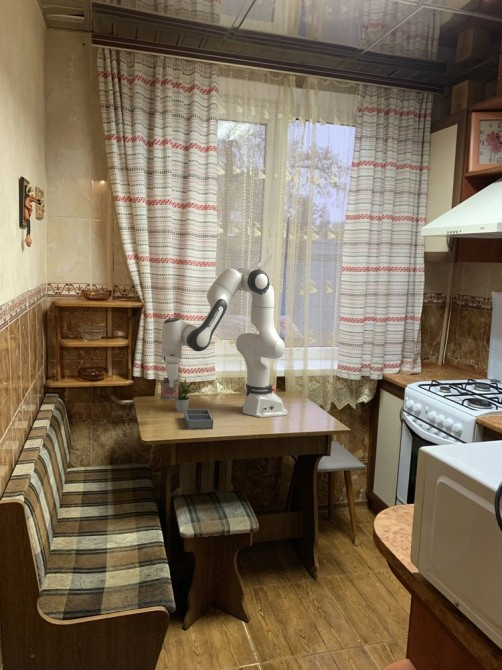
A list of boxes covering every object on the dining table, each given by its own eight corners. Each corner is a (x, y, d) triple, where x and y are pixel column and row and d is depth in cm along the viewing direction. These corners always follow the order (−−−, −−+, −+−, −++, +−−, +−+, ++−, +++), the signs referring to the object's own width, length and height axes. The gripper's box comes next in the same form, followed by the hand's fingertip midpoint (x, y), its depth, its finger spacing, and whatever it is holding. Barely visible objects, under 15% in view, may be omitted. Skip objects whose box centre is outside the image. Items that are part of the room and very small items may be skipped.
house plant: (200, 415, 251) (201, 382, 248) (171, 416, 247) (172, 383, 244) (194, 406, 265) (195, 374, 262) (167, 407, 260) (167, 375, 258)
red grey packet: (160, 400, 232) (161, 378, 230) (159, 397, 235) (160, 376, 234) (178, 399, 234) (179, 377, 233) (177, 397, 238) (178, 375, 236)
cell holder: (207, 417, 248) (208, 408, 248) (212, 428, 233) (213, 419, 233) (184, 418, 246) (184, 409, 245) (187, 429, 231) (187, 420, 230)
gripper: (162, 349, 241) (162, 379, 243) (165, 359, 221) (165, 391, 223) (176, 349, 242) (176, 378, 244) (180, 359, 222) (179, 391, 225)
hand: (170, 384), depth 234 cm, fingers closed on red grey packet, 3 cm apart
